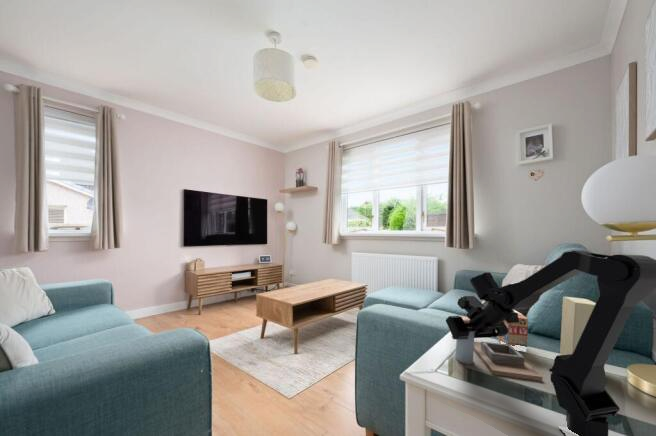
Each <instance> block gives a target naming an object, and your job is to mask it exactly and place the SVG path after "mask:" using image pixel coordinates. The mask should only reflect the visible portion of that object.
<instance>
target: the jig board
mask: <svg viewBox="0 0 656 436" xmlns="http://www.w3.org/2000/svg"><path fill="white" fill-rule="evenodd" d="M480 341H481V342H480ZM480 341H479V342H478V341H474V353H475V354H476V355H477V356H478V358H479V359H480V360H481V362H482V364H484V366H485V367H486V368H487V370H488V371H489V372H490V373H491V375H495V376H502V377H509V378H510V377H511V378H518V379H524V380H530V381H538V382H543V376H542V375H541V374H540V373H539V372H538V371H536V369H535V368H533V367H532V366H531V365H530V364H529V363H528V362H527V361H526V360H525V357H524V356H523V354H521V353H520V352H519V351H517V350H515V349H514V348H513V347H512V346H511V345H507V344H501V343H500V342H491V341H484V340H483V341H482V340H480Z"/></svg>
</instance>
